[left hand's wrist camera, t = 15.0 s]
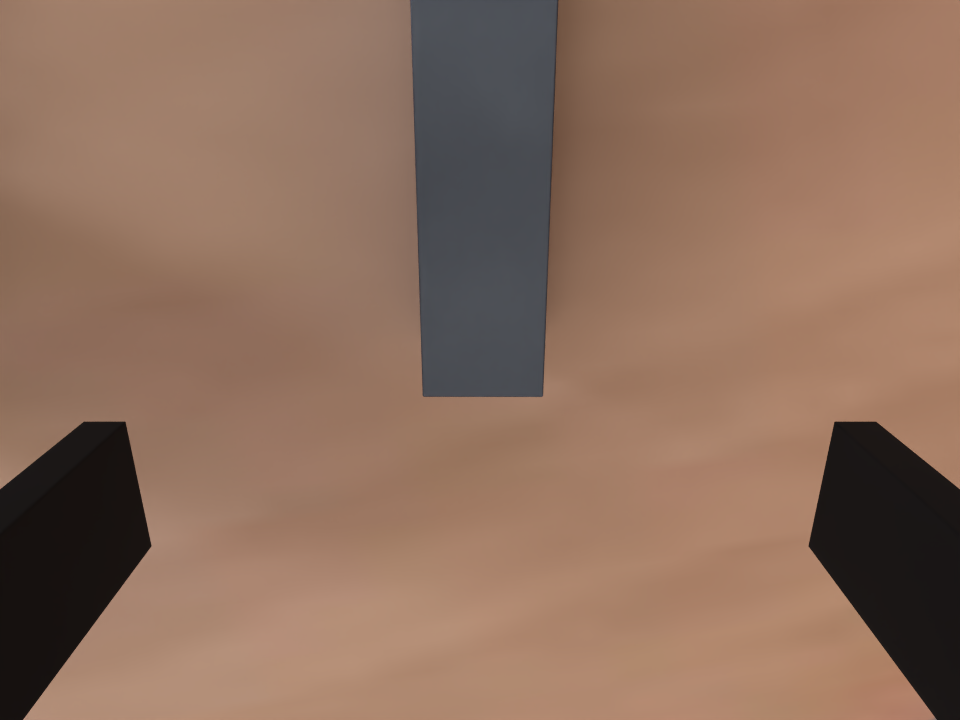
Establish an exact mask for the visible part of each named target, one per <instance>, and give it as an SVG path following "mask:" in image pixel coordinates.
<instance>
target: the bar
mask: <svg viewBox="0 0 960 720" xmlns="http://www.w3.org/2000/svg"><path fill="white" fill-rule="evenodd" d="M410 3H411V35H412V67H413V99H414V131H415V163H416V194H417V226H418V258H419V290H420V322H421V354H422V386H423V396H424V397H542V396H543V382H544V356H545V330H546V304H547V279H548V253H549V227H550V201H551V175H552V149H553V123H554V97H555V71H556V45H557V19H558V0H410Z"/></svg>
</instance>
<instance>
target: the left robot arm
mask: <svg viewBox="0 0 960 720" xmlns="http://www.w3.org/2000/svg"><path fill="white" fill-rule="evenodd" d="M150 547H151V542H150V537H149V532H148V527H147V523H146V518H145V513H144V508H143V503H142V499H141V494H140V489H139V484H138V480H137V475H136V470H135V465H134V461H133V456H132V451H131V446H130V442H129V437H128V432H127V427H126V422H83V423H82V424H81V425H79V426H78V427H77V428H76V429H74V430H73V431H72V432H71V433H69V434H68V435H67V436H66V437H64V438H63V439H62V440H61V441H60V442H58V443H57V444H56V445H55V446H53V447H52V448H51V449H50V450H48V451H47V452H46V453H45V454H43V455H42V456H41V457H40V458H38V459H37V460H36V461H35V462H34V463H32V464H31V465H30V466H29V467H27V468H26V469H25V470H24V471H22V472H21V473H20V474H19V475H17V476H16V477H15V478H14V479H12V480H11V481H10V482H9V483H8V484H6V485H5V486H4V487H3V488H1V489H0V720H23V719H24V718H25V716H26V715H27V714H28V712H29V711H30V710H31V708H32V707H33V706H34V704H35V703H36V701H37V700H38V699H39V697H40V696H41V695H42V693H43V692H44V691H45V689H46V688H47V687H48V685H49V684H50V683H51V681H52V680H53V678H54V677H55V676H56V674H57V673H58V672H59V670H60V669H61V668H62V666H63V665H64V664H65V662H66V661H67V660H68V658H69V657H70V655H71V654H72V653H73V651H74V650H75V649H76V647H77V646H78V645H79V643H80V642H81V641H82V639H83V638H84V637H85V635H86V634H87V633H88V631H89V630H90V628H91V627H92V626H93V624H94V623H95V622H96V620H97V619H98V618H99V616H100V615H101V614H102V612H103V611H104V610H105V608H106V607H107V605H108V604H109V603H110V601H111V600H112V599H113V597H114V596H115V595H116V593H117V592H118V591H119V589H120V588H121V587H122V585H123V584H124V583H125V581H126V580H127V578H128V577H129V576H130V574H131V573H132V572H133V570H134V569H135V568H136V566H137V565H138V564H139V562H140V561H141V560H142V558H143V557H144V555H145V554H146V553H147V551H148V550H149V549H150ZM809 547H810V549H811V550H812V551H813V553H814V554H815V555H816V557H817V558H818V560H819V561H820V562H821V564H822V565H823V566H824V568H825V569H826V570H827V572H828V573H829V574H830V576H831V577H832V578H833V580H834V581H835V583H836V584H837V585H838V587H839V588H840V589H841V591H842V592H843V593H844V595H845V596H846V597H847V599H848V600H849V601H850V603H851V604H852V605H853V607H854V608H855V610H856V611H857V612H858V614H859V615H860V616H861V618H862V619H863V620H864V622H865V623H866V624H867V626H868V627H869V628H870V630H871V631H872V633H873V634H874V635H875V637H876V638H877V639H878V641H879V642H880V643H881V645H882V646H883V647H884V649H885V650H886V651H887V653H888V654H889V655H890V657H891V658H892V660H893V661H894V662H895V664H896V665H897V666H898V668H899V669H900V670H901V672H902V673H903V674H904V676H905V677H906V678H907V680H908V681H909V683H910V684H911V685H912V687H913V688H914V689H915V691H916V692H917V693H918V695H919V696H920V697H921V699H922V700H923V701H924V703H925V704H926V706H927V707H928V708H929V710H930V711H931V712H932V714H933V715H934V716H935V718H936V719H937V720H960V489H959V488H957V487H956V486H955V485H954V484H952V483H951V482H950V481H949V480H948V479H946V478H945V477H944V476H943V475H941V474H940V473H939V472H938V471H936V470H935V469H934V468H933V467H931V466H930V465H929V464H928V463H926V462H925V461H924V460H923V459H922V458H920V457H919V456H918V455H917V454H915V453H914V452H913V451H912V450H910V449H909V448H908V447H907V446H905V445H904V444H903V443H902V442H900V441H899V440H898V439H897V438H896V437H894V436H893V435H892V434H891V433H889V432H888V431H887V430H886V429H884V428H883V427H882V426H881V425H879V424H878V423H877V422H834V427H833V432H832V437H831V442H830V446H829V451H828V456H827V461H826V465H825V470H824V475H823V480H822V484H821V489H820V494H819V499H818V503H817V508H816V513H815V518H814V523H813V527H812V532H811V537H810V542H809Z"/></svg>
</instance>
